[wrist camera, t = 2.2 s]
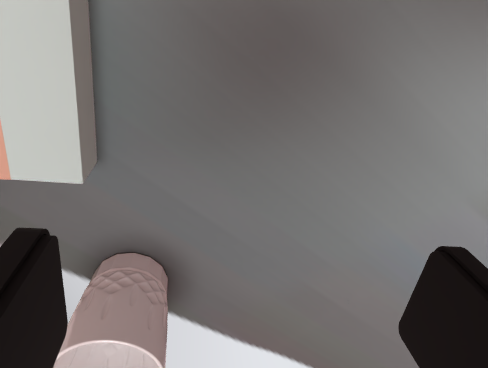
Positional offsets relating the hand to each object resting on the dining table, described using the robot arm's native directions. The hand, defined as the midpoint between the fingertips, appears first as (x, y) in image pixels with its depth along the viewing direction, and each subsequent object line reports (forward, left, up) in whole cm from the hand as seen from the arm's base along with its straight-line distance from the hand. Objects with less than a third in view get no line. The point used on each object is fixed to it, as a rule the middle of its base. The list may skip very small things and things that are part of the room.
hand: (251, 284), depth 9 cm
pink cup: (+6, +18, -20) cm, 28 cm away
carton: (+13, 0, -20) cm, 24 cm away
